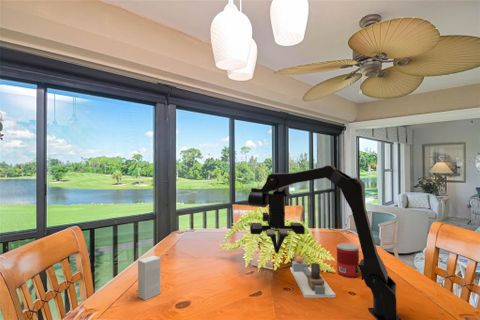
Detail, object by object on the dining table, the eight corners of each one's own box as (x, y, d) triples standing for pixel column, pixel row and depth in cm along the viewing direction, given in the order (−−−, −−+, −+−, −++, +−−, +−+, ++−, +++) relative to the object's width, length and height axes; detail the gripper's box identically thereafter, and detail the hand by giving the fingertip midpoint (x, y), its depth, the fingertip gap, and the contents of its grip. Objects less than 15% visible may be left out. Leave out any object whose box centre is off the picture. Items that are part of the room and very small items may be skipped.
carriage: (324, 289, 88) (324, 267, 88) (311, 290, 87) (311, 267, 88) (319, 283, 93) (319, 261, 93) (307, 283, 92) (307, 261, 93)
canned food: (361, 279, 99) (360, 249, 99) (338, 277, 101) (338, 248, 101) (356, 271, 107) (356, 243, 107) (335, 269, 108) (335, 242, 109)
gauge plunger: (302, 262, 104) (302, 258, 104) (296, 262, 104) (296, 258, 104) (301, 260, 106) (301, 256, 106) (295, 260, 106) (295, 256, 106)
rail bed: (335, 297, 85) (335, 285, 85) (304, 297, 85) (304, 285, 85) (314, 269, 108) (314, 259, 108) (290, 269, 108) (290, 259, 108)
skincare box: (153, 289, 90) (154, 254, 90) (160, 293, 87) (161, 257, 88) (137, 296, 85) (137, 259, 86) (144, 301, 83) (144, 262, 83)
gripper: (297, 205, 101) (297, 245, 101) (249, 205, 101) (249, 245, 101) (305, 210, 90) (305, 255, 90) (250, 209, 90) (250, 255, 89)
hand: (276, 252), depth 93 cm, fingers closed
